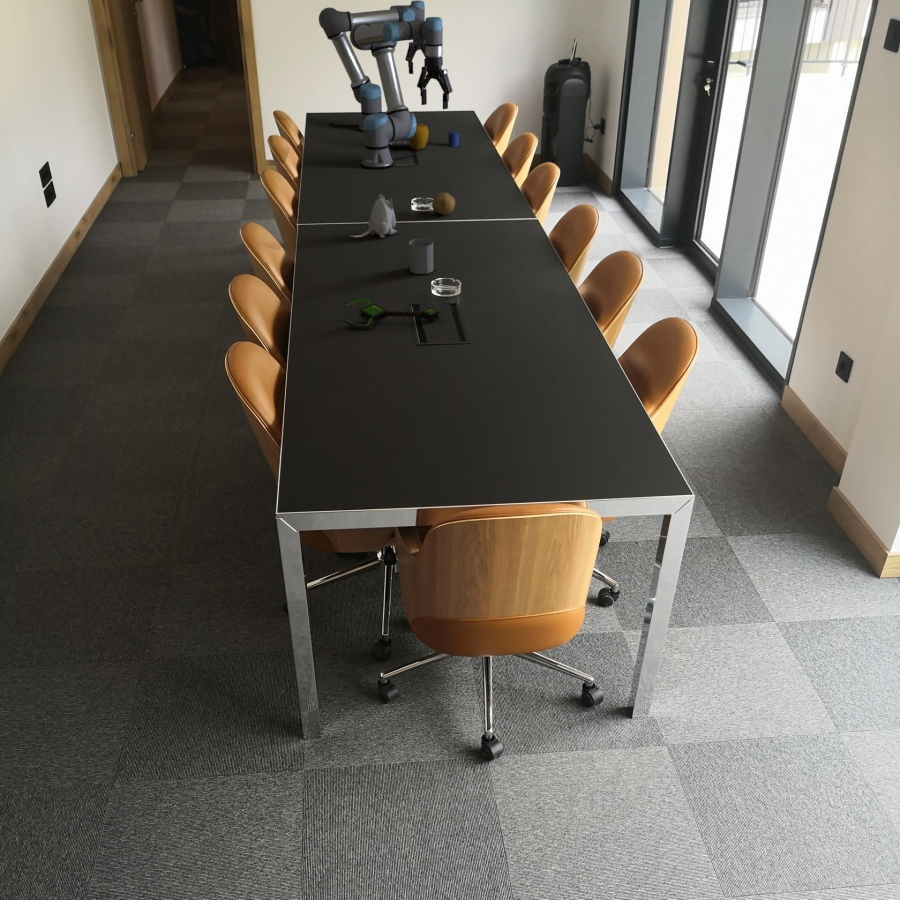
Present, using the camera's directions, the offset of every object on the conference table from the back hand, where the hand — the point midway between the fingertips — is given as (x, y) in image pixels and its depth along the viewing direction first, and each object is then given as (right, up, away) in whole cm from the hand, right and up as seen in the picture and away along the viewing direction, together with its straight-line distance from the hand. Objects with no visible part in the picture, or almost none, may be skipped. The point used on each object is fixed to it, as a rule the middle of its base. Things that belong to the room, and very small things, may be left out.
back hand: (418, 72), depth 498 cm
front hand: (+11, -60, -102) cm, 119 cm away
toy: (-12, -135, -161) cm, 210 cm away
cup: (+8, -153, -190) cm, 244 cm away
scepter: (0, -177, -227) cm, 288 cm away
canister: (+20, -55, -36) cm, 69 cm away
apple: (+1, -59, -43) cm, 73 cm away
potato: (+15, -118, -135) cm, 180 cm away
